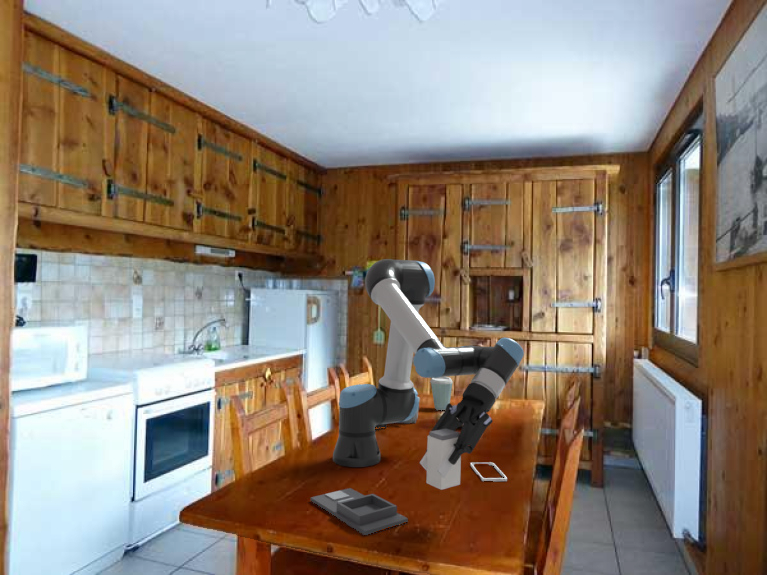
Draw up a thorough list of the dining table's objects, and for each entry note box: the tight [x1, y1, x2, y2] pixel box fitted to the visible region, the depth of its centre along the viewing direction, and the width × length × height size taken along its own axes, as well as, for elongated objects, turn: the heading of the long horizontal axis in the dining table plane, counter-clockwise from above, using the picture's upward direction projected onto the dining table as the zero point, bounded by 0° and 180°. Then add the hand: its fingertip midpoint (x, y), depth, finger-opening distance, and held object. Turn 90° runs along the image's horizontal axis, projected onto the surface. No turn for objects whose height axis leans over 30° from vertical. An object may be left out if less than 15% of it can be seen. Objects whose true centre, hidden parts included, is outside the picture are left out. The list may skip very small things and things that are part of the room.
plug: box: [426, 428, 462, 491], centre depth 125 cm, size 5×6×12 cm
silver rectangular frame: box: [470, 461, 508, 482], centre depth 160 cm, size 7×1×15 cm
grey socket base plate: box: [310, 487, 409, 536], centre depth 130 cm, size 24×12×3 cm, turn 37°
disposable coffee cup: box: [429, 376, 454, 412], centre depth 251 cm, size 11×11×15 cm
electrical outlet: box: [395, 397, 421, 424], centre depth 231 cm, size 12×28×10 cm, turn 172°
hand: (431, 470), depth 122 cm, fingers closed on plug, 5 cm apart
